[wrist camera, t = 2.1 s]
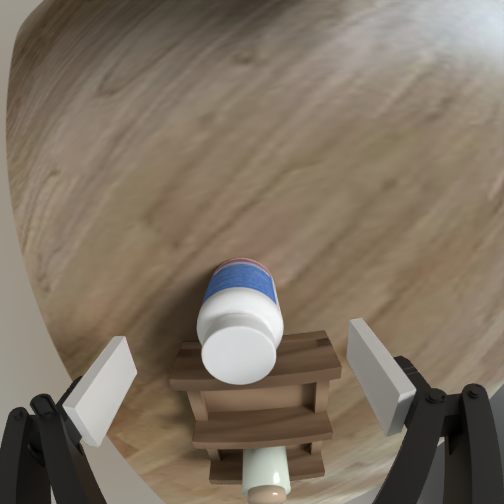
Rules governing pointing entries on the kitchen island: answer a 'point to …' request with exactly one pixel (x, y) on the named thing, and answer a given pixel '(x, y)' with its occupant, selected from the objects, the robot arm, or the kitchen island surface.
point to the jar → (265, 475)
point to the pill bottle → (240, 322)
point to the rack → (262, 407)
